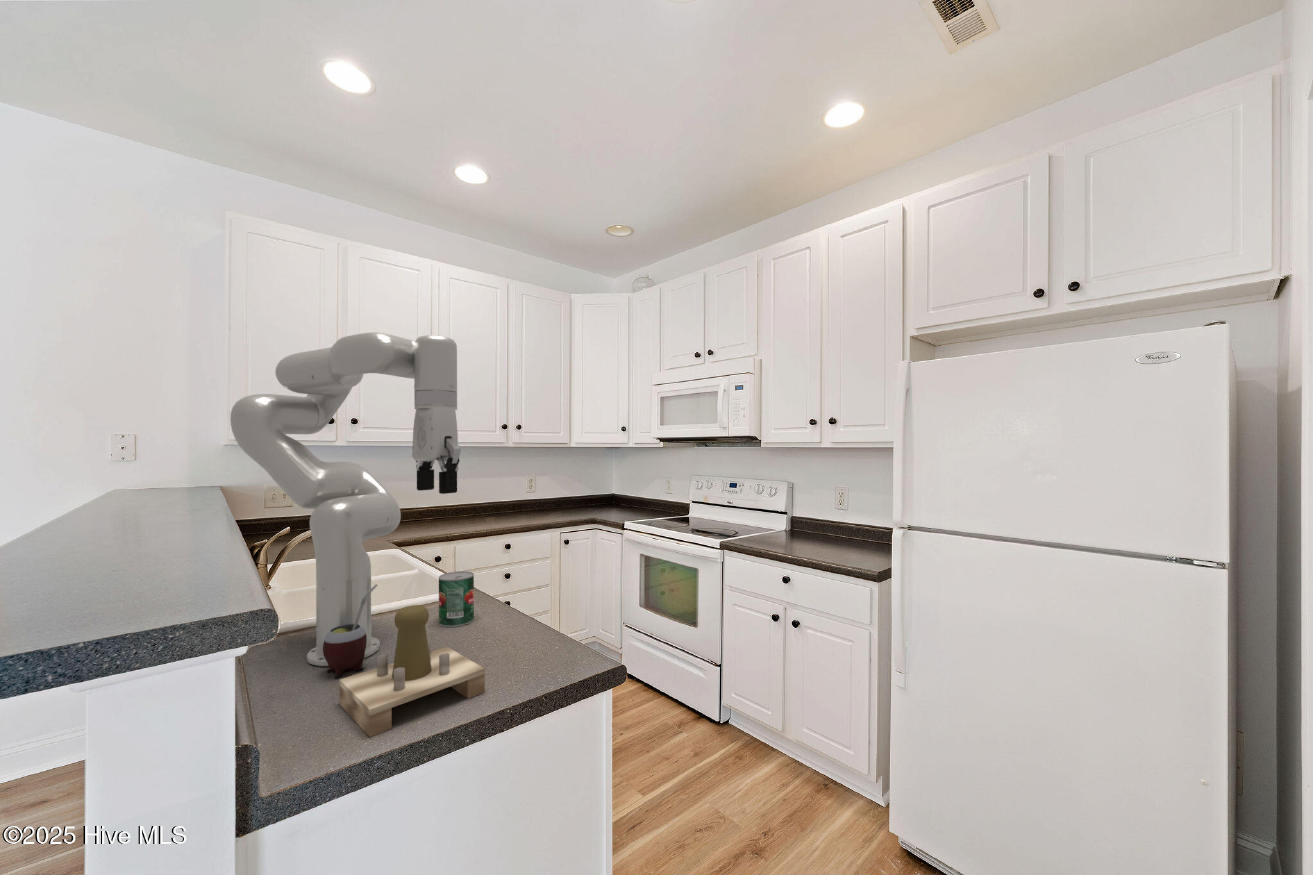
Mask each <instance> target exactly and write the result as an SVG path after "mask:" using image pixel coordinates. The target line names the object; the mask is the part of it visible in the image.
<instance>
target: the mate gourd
mask: <svg viewBox="0 0 1313 875" xmlns="http://www.w3.org/2000/svg"><path fill="white" fill-rule="evenodd" d="M377 587H378V584H374V585H373V587H371V589H370V590H369V591H368V592H367V593H366V595H365V596H364V598H362V600H361V603H360V604H361V605H360V608H359V611H358V614H357V617H356V620H355V623H354V624H346V625H341V626H337V627H335V628H332V629H331V630H330V631H329V632H328V633H327V635H326V637H325V639H324V644H323V655H324V657H325V660H326V661H327V663H328V666H327V667H328V669H327V670H326V671H327V674H335V673H336V674H335V675H334V680H339V679H341V677H343V676H344V675H346V673H357V672H358V673H362V672H364V667H363V664H364V661H365V658H364V656H365V650H366V643H367V635H366V631H365V630H364V628H363V627H362V626H360V625H359V624H358V621H359V618H360V615H361V612H362V609H363V606H364V604H365V602H366V598H367V597H368V595H369V594H370V593H371V594H372V592H373V591H374V590H375V589H376V588H377Z"/></svg>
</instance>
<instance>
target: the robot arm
mask: <svg viewBox="0 0 1313 875" xmlns="http://www.w3.org/2000/svg"><path fill="white" fill-rule="evenodd" d="M274 371H275V372H274V373H275V376H276V379H277V381H278V383H279V384H280V385H281V386H282V387H283V388H285V389H287V390H288V391H290V392H293V393H297V394H301V395H303V394H304V395H306V396H297V395H285V394H284V395H283V394H273V393H260V394H259V393H257V394H251V395H246V396H244V397H242V398H239V399H238V400H237V401H236V402H235V403H234V405H233V406H232V408H231V411H230V427H231V428H230V429H231V431H232V435H233V437H234V439H235V441H236V443H237V444H238V446H239V447H240V448H241V449H242V451H243V452H244V453H245V454H246V455H247V456H249V457H250V458H251V459H252V460H253V461H254V462H256V463H257V464H258V465H259V466H260V467H261V468H262V469H264V470H265V471H266V473H267V474H268V475H269V476H270V477H271V479H272V480H273V481H274V482H275V484H277V485H278V486H279V488H280V489H281V490H282V491H283V492H284V493H285V494H286V495H287V497H288V498H289V499H291V500H292V501H293V502H294V504H296V505H297V506H299V507H300V508H302V509H307V510H309V509H311V510H312V509H313V511H312V512H311V515H310V518H309V531H310V534H311V535H310V536H311V539H312V543H313V548H314V555H315V556H314V557H315V580H316V582H315V584H316V586H315V587H316V589H315V592H316V593H315V595H316V596H315V598H316V599H315V600H316V606H315V609H316V611H315V612H316V613H315V615H316V620H315V621H316V625H315V626H316V630H315V631H316V633H315V634H316V637H315V638H316V641H315V643H316V646H315V647H313V648H312V649H310V650H309V651H308V652H307V654H306V661H307V663H308V664H311V665H313V666H317V667H329V666H328V663H327V661H326V660H325V657H324V655H323V644H324V639H325V637H326V635H327V633H328V632H329V631H330V630H331V629H332V628H335V627H337V626H341V625H346V624H354V623H355V620H356V617H357V614H358V611H359V608H360V605H361V604H360V603H361V600H362V598H364V596H365V595H366V593H367V592H368V591H369V590H370V589H371V588H372V564H371V563H372V562H371V559H370V556H369V553H368V552H367V551H366V548H365V547H364V545H363V544H362V542H364V541H368V540H371V539H376V538H379V537H382V536H383V537H384V536H387V535H389V534H391V533H392V532H394V531H395V530H396V529H397V528H398V526H399V525H400V522H401V518H402V515H401V514H402V512H401V509H400V506H399V504H398V502H397V500H396V499H395V498H394V496H393V495H392V494H391V493H390V492H389V491H388V490H387V489H386V488H385V487H384V486H383V485H382V484H381V483H380V482H379V481H378V479H377V478H375V477H374V475H372V474H371V472H369V470H368V469H366V468H365V467H364V466H361V465H360V464H357V463H355V462H352V461H351V462H350V461H337V462H336V461H335V462H333V461H332V462H329V461H323V460H320V459H319V458H318V457H317V456H315V455H314V453H312V452H311V451H310V449H309V448H308V447H307V446H305V445H304V444H303V443H301V442H300V441H298V440H296V439H295V438H293V437H290V436H289V435H313V434H317V433H318V432H321V431H322V430H323V429H325V427H326V426H327V425H328V424H329V422H330V421H331V420H332V419H333V417H334V416H335V414H336V413H337V412H338V410H339V409H340V407H341V406H342V404H343V403H344V402H345V401H346V399H347V397H348V396H349V394H350V393H351V391H352V390H353V389H352V388H353V387H356V386H357V385H358V384H360V382H362V379H363V378H364V374H380V375H387V376H392V377H398V378H399V377H400V378H405V379H413V380H414V381H413V382H414V386H413V388H414V392H413V393H414V394H413V395H414V402H413V403H414V405H413V406H414V407H413V408H414V410H415V413H414V420H413V429H412V430H413V432H412V448H411V449H412V450H411V452H412V454H411V455H412V458H413V460H415V462H416V465H415V469H416V490H417V491H419V492H420V491H431V490H434V489H435V469H434V468H433V466H434V464H435V462H436V461H437V463H438V465H439V468H440V471H438V493H439V494H440V495H441V494H442V495H443V494H444V495H445V494H446V495H447V494H455V493H458V472H459V463H460V454H461V450H462V448H461V447H460V445H459V441H458V440H459V439H458V438H459V435H458V434H459V432H458V422H457V414H456V411H457V410H458V346H457V343H456V342H455V340H454V339H453V338H452V337H451V338H450V337H448V336H444V335H434V334H433V335H432V334H431V335H430V334H429V335H428V334H427V335H421V336H419V337H417V338H416V339H415V340H412V339H408V338H404V337H400V336H397V335H393V334H390V333H389V334H388V333H385V332H384V333H382V332H372V331H371V332H362V333H358V334H356V333H355V334H352V335H346V336H343V337H341V338H338V340H336V342H335V343H333V345H332V346H331V347H325V348H320V349H314V350H308V351H302V352H297V353H293V354H290V355H287V356H284V357H283V358H282V359H280V361H279V362H278V363H277V365H276V367H275V370H274ZM358 624H359V625H360V626H362V627H363V628H364V630H365V631H366V635H367V643H366V650H365V656H364V659H366V658H368V657H370V656H371V655H374V654H375V653H377V651H378V650H379V649H380V646H381V642H380V639H378V638H377V637H373V636H372V592H371V593H370V594H369V595H368V597H367V598H366V602H365V604H364V606H363V609H362V612H361V615H360V618H359V621H358Z"/></svg>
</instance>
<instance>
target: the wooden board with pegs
mask: <svg viewBox="0 0 1313 875" xmlns="http://www.w3.org/2000/svg"><path fill="white" fill-rule="evenodd" d="M428 648H429V655H430V662H431V668H432V671H431V672H430V673H429V674H428V675H426V676H424V677H423V678H420V679H417V680H412V681H405V668H404V667H399V668H396V669H394V679H393V678H392V672H393V665H394V662H392V663H390V664H389V656H388V654H381V655H378V656H376V668H373V669H369V670H366V671H362V672H358V673H356V674H352V675H351V676H347V677H344V678H339V679H338V680H339V681H338V682H339V684H338V686H339V690H338V691H339V693H338V694H339V696H338V697H339V702H338V703H339V705H340V707H341V708H342V709H343V710H345V712H346V713H347V714H348V715H349V716H350V717H351V718H352V719H353V721H354V722H356V724H357V725H358V726H359V727H360V728H361V729H362V731H364V733H365V734H366V735H367V736H368V737H369V738H373V737H374V736H376V735H378V734H382V733H384V732H387V731H389V730H391V729H392V728H393V727H392V725H393V724H392V721H393V720H392V712H393V711H392V708H395V707H397V706H401V705H402V704H407V703H408V702H411V701H414V700H417V699H419V698H422V697H425V696H428V695H430V694H434V693H436V692H439V691H442V690H445V689H447V688H450V687H451V688H452V689H454V690H455V691H456V692H457V693H459V694H461V695H462V696H463V697H465V699H470V698H473V697H476V696H478V695H480V694H484V693H485V691H486V690H485V688H486V687H485V686H486V685H485V682H486V681H485V677H486V676H485V675H486V674H485V672H486V671H485V668H484V667H482V666H481V665H479V664H477V663H476V662H474V661H473V660H470V659H469V658H467V657H465V656H464V655H462V654H461V653H459V652H457V651H455V650H454V649H452V648H450V647H448V646H445V647H441V648H438V649H436V650H432V643H431V642H429V641H428Z"/></svg>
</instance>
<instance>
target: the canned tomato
mask: <svg viewBox="0 0 1313 875" xmlns="http://www.w3.org/2000/svg"><path fill="white" fill-rule="evenodd" d="M474 577H475V573H474V572H472V571H468V570H467V571H465V570H464V571H452V572H446V573H443V574H441V575H439V576H438V625H439V627H442V626H443V628H456V627H458V626H459V627H464V626H467V625H469V624H471V623H473V621H475V601H474V600H475V594H474V593H475V583H474V582H475V578H474ZM466 624H467V625H466Z"/></svg>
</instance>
